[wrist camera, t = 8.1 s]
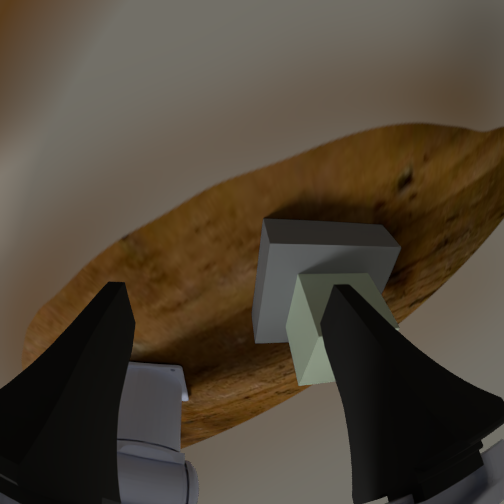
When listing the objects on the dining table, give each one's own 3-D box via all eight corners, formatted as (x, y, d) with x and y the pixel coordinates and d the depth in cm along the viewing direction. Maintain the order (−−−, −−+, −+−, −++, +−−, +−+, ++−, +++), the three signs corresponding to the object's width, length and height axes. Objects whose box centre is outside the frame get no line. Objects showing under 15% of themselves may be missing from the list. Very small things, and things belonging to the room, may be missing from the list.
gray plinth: (251, 315, 24) (255, 343, 21) (263, 218, 18) (269, 243, 16) (349, 311, 25) (360, 336, 22) (382, 224, 20) (401, 247, 17)
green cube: (285, 327, 20) (298, 385, 16) (297, 273, 18) (318, 336, 13) (347, 323, 21) (368, 375, 17) (367, 272, 18) (399, 327, 14)
